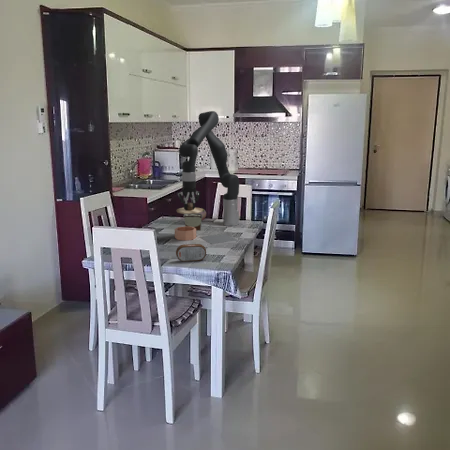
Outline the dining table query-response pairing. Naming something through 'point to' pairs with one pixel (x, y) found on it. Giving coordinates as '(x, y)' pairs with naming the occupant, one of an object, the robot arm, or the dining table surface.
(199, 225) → the food container
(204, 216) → the decorative fruit
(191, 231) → the bowl
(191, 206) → the lid
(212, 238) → the mat
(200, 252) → the portable speaker
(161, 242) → the dining table surface
